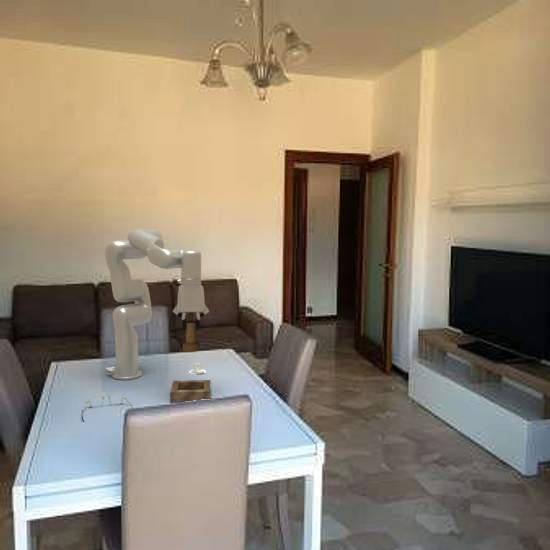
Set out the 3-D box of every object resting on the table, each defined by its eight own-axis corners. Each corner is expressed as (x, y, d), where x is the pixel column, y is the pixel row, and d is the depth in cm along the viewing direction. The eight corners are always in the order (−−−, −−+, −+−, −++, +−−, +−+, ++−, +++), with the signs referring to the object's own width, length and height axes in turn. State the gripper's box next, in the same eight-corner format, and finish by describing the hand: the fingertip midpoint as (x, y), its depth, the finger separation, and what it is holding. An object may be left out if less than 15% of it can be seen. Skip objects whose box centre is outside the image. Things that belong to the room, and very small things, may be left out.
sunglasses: (130, 404, 194) (129, 391, 194) (133, 418, 180) (133, 404, 180) (81, 408, 188) (81, 395, 188) (81, 423, 174) (81, 409, 174)
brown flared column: (185, 352, 197) (185, 305, 196) (180, 349, 203) (180, 303, 201) (202, 350, 200) (201, 304, 199) (196, 347, 206) (196, 302, 204)
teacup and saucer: (204, 375, 233) (204, 366, 232) (186, 375, 233) (186, 366, 233) (207, 370, 241) (207, 361, 241) (190, 370, 242) (190, 361, 241)
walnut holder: (170, 402, 195) (170, 392, 195) (173, 390, 210) (173, 380, 209) (210, 401, 197) (210, 391, 196) (210, 389, 212) (210, 379, 211)
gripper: (168, 283, 194) (168, 331, 196) (213, 283, 197) (212, 331, 198) (169, 281, 202) (169, 327, 204) (212, 281, 204) (212, 327, 206)
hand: (191, 328), depth 201 cm, fingers closed on brown flared column, 3 cm apart
